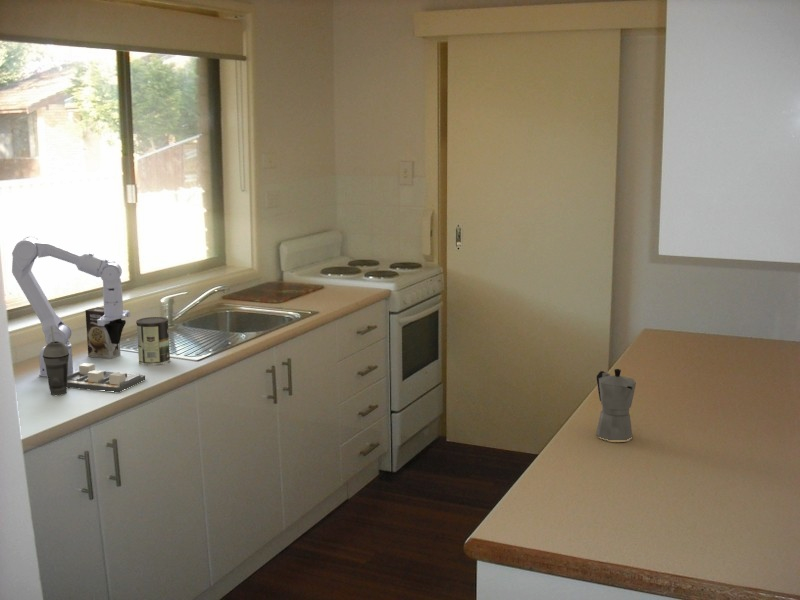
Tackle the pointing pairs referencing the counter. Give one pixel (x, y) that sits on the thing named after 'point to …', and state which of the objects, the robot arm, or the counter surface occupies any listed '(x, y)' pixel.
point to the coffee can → (153, 340)
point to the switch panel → (102, 382)
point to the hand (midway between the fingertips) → (115, 343)
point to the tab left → (86, 368)
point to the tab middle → (95, 376)
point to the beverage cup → (56, 366)
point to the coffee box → (99, 336)
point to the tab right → (116, 378)
